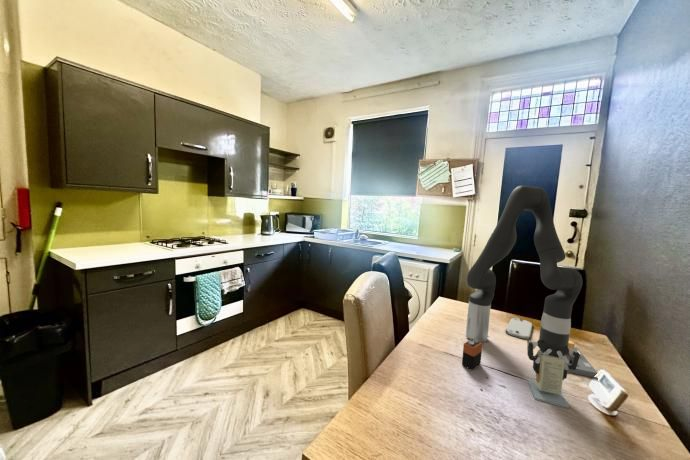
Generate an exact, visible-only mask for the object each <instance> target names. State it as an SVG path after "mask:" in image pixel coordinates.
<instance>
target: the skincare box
mask: <svg viewBox="0 0 690 460" xmlns="http://www.w3.org/2000/svg"><path fill="white" fill-rule="evenodd" d="M538 351H539V353H540V355H541V354H542V351H540V350H539V349H538ZM564 363H565V360H564V359H560V358H559V357H555V356H550V355H547V356H546V355H542V358H541V362H540V367H539V374H537V373H535V379H534V381H535V383H536V385H537V387H538V389H539V390H541V391H545V392H550V393H555V394H560V395H561V392H562V390H563V389H562V388H563V381H564V380H563V372H564Z"/></svg>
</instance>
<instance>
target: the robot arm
mask: <svg viewBox="0 0 690 460" xmlns="http://www.w3.org/2000/svg"><path fill="white" fill-rule="evenodd" d="M524 211H525V212H532V214H533V216H534V218H535V221H536V226H535V230H534V235H533V242H534V246H535V249H536V252H537V254H538V257H539V268H540V269H539V270H540V273H539V274H540V280H541V282H542V284H543V285H544V286H545V287H546V288H547V289H549V290H553V291H556V292H555V293H553V294H550V295H547V296H546V297H545V299H544V303H543V305H544V306H543V312H542V316H541V320H540V329H539V338H538V340H537V341H533V340H531V339H526V340H527V342H526V345H527V347H526V349H527V350H526V351H527V353H526V354H527V357H528V359H529V360H530V361H533V362H532V370H533V371H534V372H535V374H536V373H537V374H539V367H540V362H541V358H542V355H546V356H547V355H550V356H555V357H559V358H560V359H564V357H563V356H565V355H566V354H567V353H569V354H570V356H571V357H570V360H569V363H566V361H565V363H564V372H563V381H564V380H566V379H567V377H568V372H567V371H568V370H569V369H572V370H576V367H577V364H578V360H579V357H580V354H579V352H578V351H577V350H576V349H573V350H572V349H569V348H568V343H569V340H570V335H571V327H572V326H571V325H572V322H571V321H572V318H571V317H572V311H573V306H574V303H575V302H576V300H577V298H578V295H579V294H580V292H581V291H582V290H581V289H582V287H583V278H582V274H581V273H580V272H579V271H578V270H576V269H574V268H569V267H568V268H567V267H558V263H561V262H563V261H565V259H566V253H565V250H564V247H563V245H562V243H561V241H560V238H559V236H558V233H557V230H556V227H555V226H556V225H555V222H554V218H553V217H554V216H553V211H552V207H551V202H550V198H549V195H548V193H547V191H546V189H545V188H542V187H539V186H531V185H518V186H516V187H515V188H514V189H513V190H512V191H511V193H510V195H509V197H508V199H507V201H506V204H505V205H504V209H503V211H502V213H501V216H500V218H499V220H498V222H497V224H496V225H495V228H494V229H493V232H492V233H491V235H490V236H489V238H488V240H487V242H486V244H485V246H484V248H483V249H482V251H481V253H480V254H479V256H478V258H477V260H476V261H475V262H474V264H473V265H472V266H471V268H470V269H469V270H468V273H467V274H466V283H467V285H468V286H469V288H471V289H474V290H475V289H476V290H475V291H474V292H472V293H470V294H469V297H468V308H467V316H466V325H465V338H466V337H467V338H466V339H469V340H471V339H477V340H478V342H481V343H485V342H487V341H488V338H489V326H490V316H491V307H492V301H493V299H494V296H495V289H496V283H497V280H496V279H497V278H496V274H495V272H494V271H493V270H492V269H491V268H493V266H495V265H496V264H498V263H499V262H501V261H502V260H503V259H504V258H506V257H507V256H508V255H509V254H510V252H511V251H512V249H513V248H514V246H515V245H516V243H517V237H518V236H517V230H516V229H517V228H516V224H517V221H518V218H519V217H520V215H521V213H522V212H524ZM536 347H538V350H537V352H536V354H534V349H536ZM539 350H540V351H542V354H541V355H540V353H539ZM564 360H565V359H564Z"/></svg>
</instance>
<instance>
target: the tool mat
mask: <svg viewBox="0 0 690 460" xmlns="http://www.w3.org/2000/svg"><path fill="white" fill-rule="evenodd" d="M527 383H528V385H529V388H530V391H531V393H532V396H533V398H534V400H537V401H540V402H544V403H548V404H552V405H555V406H558V407H561V408H562V407H563V408H565V409H570V406H569V403H568V401H567V400H566V398H565V396H564V394H563V392H562V391H561V395H560V394H555V393H550V392H545V391H541V390H539V389H538V387H537V385H536V383H535V380H532V379H527Z"/></svg>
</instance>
